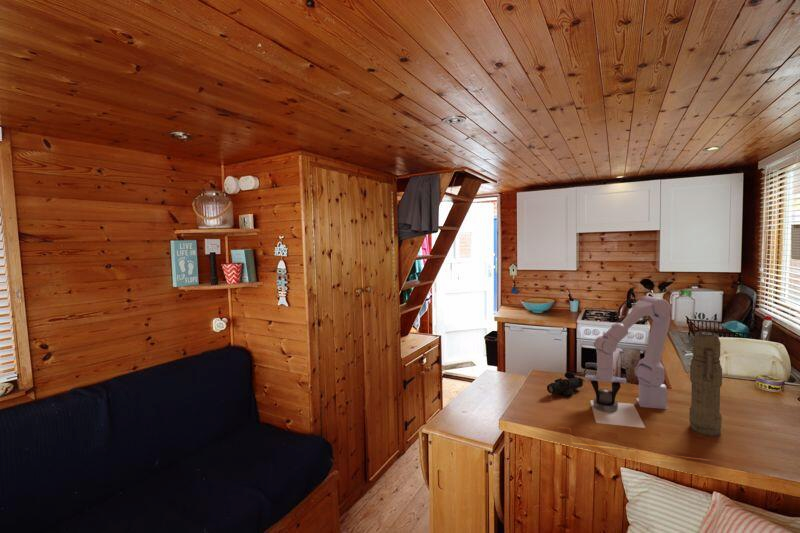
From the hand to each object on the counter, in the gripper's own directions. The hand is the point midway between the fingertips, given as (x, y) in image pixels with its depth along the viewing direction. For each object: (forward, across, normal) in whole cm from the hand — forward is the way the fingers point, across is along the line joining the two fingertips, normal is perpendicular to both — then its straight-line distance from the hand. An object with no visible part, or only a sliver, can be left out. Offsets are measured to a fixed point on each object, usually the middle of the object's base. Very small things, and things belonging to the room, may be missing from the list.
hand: (605, 399), depth 157 cm
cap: (+1, 0, 0) cm, 1 cm away
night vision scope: (+4, +14, -11) cm, 19 cm away
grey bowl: (+3, 0, 0) cm, 3 cm away
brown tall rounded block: (+4, -30, +10) cm, 32 cm away
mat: (+4, -3, +4) cm, 6 cm away
